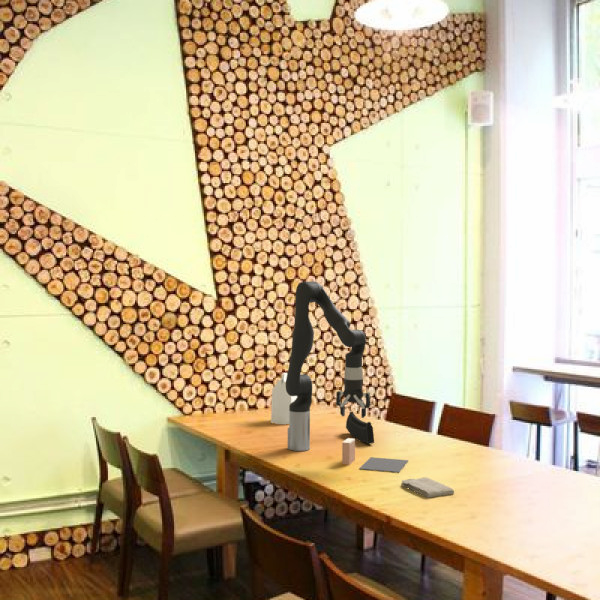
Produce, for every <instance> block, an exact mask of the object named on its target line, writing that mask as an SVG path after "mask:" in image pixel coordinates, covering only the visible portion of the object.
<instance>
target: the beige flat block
mask: <svg viewBox="0 0 600 600" xmlns="http://www.w3.org/2000/svg"><path fill="white" fill-rule="evenodd" d="M341 442H342V444H341V445H342V446H341V447H342V448H341V449H342V450H341V451H342V453H341V455H342V456H341V457H342V458H341V460H342V461H341V463H342V464H347V465H346V466H350V465H351V464H352V463H353V462H355V461H356V439H355V438H350V437H348V438H346V439H344V440H343V441H341Z"/></svg>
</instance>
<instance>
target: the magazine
mask: <svg viewBox="0 0 600 600" xmlns="http://www.w3.org/2000/svg"><path fill="white" fill-rule="evenodd" d="M346 418H347V419H346V421H345V422H346V423H345V429H346V430H347V432H348V433H349V435H351V436H352V437H353V438H354V437H355V438H357V439H358V440H357V439H356V440H357V441H359V440H360V441H359V442H361V441H362V443H365V444H369V445H371V444H374V443H375V436H374V435H375V433H374V427H373V426H372V422H371V421H367V422H365V421H363V420H361V419H360V418H359V417H358V416H356V414H355V413H354V412H353V411H349V414H348V415H347V417H346ZM355 438H354V439H355Z"/></svg>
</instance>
